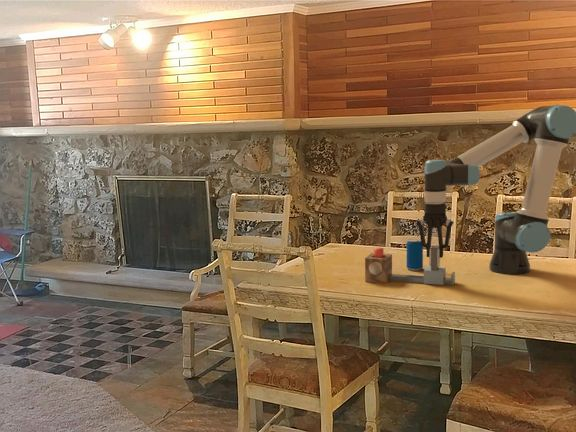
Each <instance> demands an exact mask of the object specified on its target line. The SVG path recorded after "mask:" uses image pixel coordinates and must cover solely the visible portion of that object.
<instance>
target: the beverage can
mask: <svg viewBox="0 0 576 432" xmlns="http://www.w3.org/2000/svg"><path fill="white" fill-rule="evenodd" d="M406 268H407V269H408V270H409V271H421V270H422V269H423V268H424V247H422V245H421V238H420V239H419V238H409V239H407V242H406Z"/></svg>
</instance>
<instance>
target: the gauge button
mask: <svg viewBox="0 0 576 432" xmlns="http://www.w3.org/2000/svg"><path fill="white" fill-rule="evenodd" d="M373 253H374V257H378V258H384V256H383V254H384V248H383V247H374V248H373Z"/></svg>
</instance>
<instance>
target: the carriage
mask: <svg viewBox="0 0 576 432" xmlns="http://www.w3.org/2000/svg"><path fill="white" fill-rule="evenodd" d="M430 248H431V267H429V266H426V267H425V268H424V269H423V276H424V283H423V284H424V285H437V286H440V285H441V286H445V285H444V277H447V276H446V274H447V273H446V269H447V268H446V267H440V266H439V267H437V249H438V248H439V245H438V246H431V247H430Z"/></svg>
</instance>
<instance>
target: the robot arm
mask: <svg viewBox="0 0 576 432" xmlns="http://www.w3.org/2000/svg"><path fill="white" fill-rule="evenodd" d="M575 134H576V111H575V109H574V108H573V107H571V106H569V105H564V104H555V105H544V106H538V107H536V108H534V109H532V110H530V111H529V112H527V113H525V114H524V115H522V116H520V117H519V118H517V119H516V120H514V121H512V125H510V126H509V127H506V128H505V129H504V130H502V131H500V132H498V133H496V134H494V135H493V136H490V137H489V138H487V139H486V140H484V141H482V142H481V143H479V144H477V145H475V146H473V147H472V148H470V149H468V150H467V151H465V152H463V153H462V154H460V155H458V156H457V157H455V158H452V159H451V160H449V161H446V160H445V159H429V160H426V161H425V164H424V171H423V172H424V174H423V175H424V202H425V203H424V215H423V217H422V218H421V219H418V220H417V221H416V224H417V226H418V229H419V237H420V239H421V245H422V247H423V248H425V249H426V257H427V258H429V260H428V261H429V265H428V267H431V248H432V238H433V230H434V229H436V230H437V241H438V247H439V248H438V249H437V267H440V266H441V259H442V258H444V257H443V256H444V249H447V248H448V247H449V245H450V237H451V230H452V226H453V225H454V224H455V223H454V221H453V220H451V219H448V217H447V213H446V212H447V206H446V205H447V204H446V203H445V202H446V201H447V187H449V186H450V187H451V186H468V187H469V186H474V185H477V184H478V183H479V181H480V177H481V175H480V173H481V172H480V168H479V167H481V166H483V165H485V164H487V163H488V162H490V161H493V160H494V159H495V158H497V157H499V156H500V155H502V154H504V153H506V152H508V151H509V150H511V149H513V148H515V147H517V146H518V145H519V144H522V143H524V144H528V142H531V141H532V140H534V142H535V144H536V148H535V153H534V156H533V160H532V165H531V168H530V172H529V176H528V180H527V184H526V189H525V192H524V198H523V201H522V204H521V208H519V209H518V210H516V211H515V212H498V213H496V214H495V217H494V248H493V249H494V250H493V253H492V256H491V259H490V261H489V270H490V271H491V272H495V273H497V274H505V275H521V274H528V273H529V272H531V264H530V261H529V258H528V254H527V253H539V252H540V251H542V250H544V249H545V248H546V247H547V245H548V244H549V242H550V240H551V231H550V229H549V227H548V223H549V221H550V219H549V217H548V215H547V209H548V206H549V205H548V204H549V202H550V198H551V194H552V190H553V185H554V182H555V179H556V174H557V170H558V167H559V163H560V158H561V156H562V155H561V154H562V150H563V149H564V148H566V147H567V146H568V145H569V142H570V138H571V137H573V136H574V135H575ZM445 223H446V226H447V227H446V231H445V239H443V238H444V237H443V231H442V230H443V228H442V227H443V225H444V224H445ZM424 224H426V226H427V227H428V229H427V231H428V232H427V237H426V236H425V235H426V234H425V230H424V229H425V228H424ZM426 238H427V239H426Z"/></svg>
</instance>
